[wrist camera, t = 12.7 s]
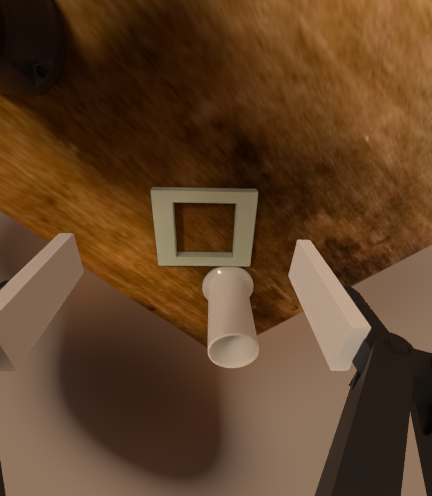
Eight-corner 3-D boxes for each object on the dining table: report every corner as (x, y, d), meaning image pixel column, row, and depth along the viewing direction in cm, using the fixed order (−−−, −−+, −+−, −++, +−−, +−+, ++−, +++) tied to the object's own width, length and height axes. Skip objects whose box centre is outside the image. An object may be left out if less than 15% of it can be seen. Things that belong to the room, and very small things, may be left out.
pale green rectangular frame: (160, 259, 51) (158, 265, 49) (152, 186, 43) (150, 190, 42) (248, 260, 51) (250, 266, 50) (256, 188, 44) (258, 192, 42)
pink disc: (202, 304, 57) (202, 307, 56) (202, 264, 52) (202, 266, 51) (250, 304, 57) (251, 307, 57) (255, 264, 52) (256, 267, 51)
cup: (252, 294, 55) (266, 359, 41) (219, 307, 57) (221, 373, 43) (237, 266, 51) (247, 327, 37) (201, 281, 53) (198, 344, 39)
